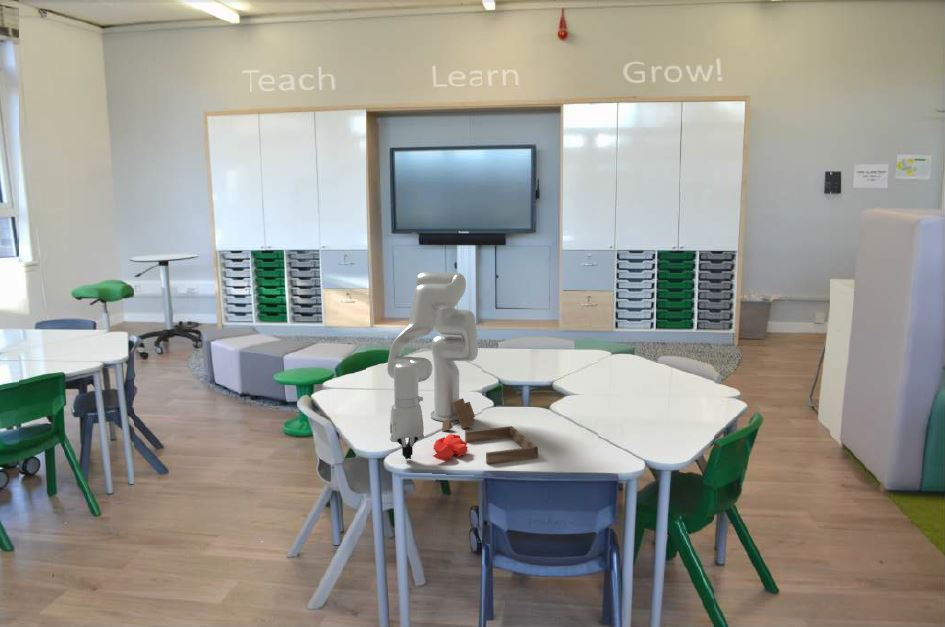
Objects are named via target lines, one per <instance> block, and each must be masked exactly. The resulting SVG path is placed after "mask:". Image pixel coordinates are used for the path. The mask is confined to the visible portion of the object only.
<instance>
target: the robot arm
mask: <svg viewBox="0 0 945 627" xmlns="http://www.w3.org/2000/svg"><path fill="white" fill-rule="evenodd" d="M415 280H416V287H415V289H414V291H413V298H412V302H411V309H410V313H409V317H408V318H409V319H408V324H407V326H406V327H405V328H404V329H403V330H402V331H401V332H400V333H398V335H397V336H396V337H395V339H394V340H393V342H392V343H391V346H390V349H389V352H388V357H387V358H388V359H387V367H386V368H387V369H386V371H387V374H388V376H389V377H390V378H391V379H393V392H394V393H393V395H394V397H393V399H394V404H393V405H391V409H390V418H389V433H390V439H389V440H390V442H392V443H398V444H399V445H400V446H401V452H402V454H401V455H402V457H404V458H405V460H411V459H412V456H413V447H414V446H415V444H416V442H418V441H419V440H422V439H424V438H425V435H424V430H425V429H424V428H425V427H424V419H423V411H422V405H421V404H420V402H424V397H423V396H419V383H421V382H425V381H427V380H428V379H429V378H431V375H432V373H433V377H434V378H433V388H434V389H433V390H434V395H433V396H434V398H433V399H434V401H433V402H434V403H433V404H434V408H433V409H434V410H432V411H431V412H430V418H431V419H433V420H435V421H441V422H443V421H444V420H447V419H450V421H451V422H453V421H459V419H458V417H457V414H456V411H455V408H454V405H453V402H454V401H456V400H459V399H460V370H459V368H458V365H457V364H456V363H455V361H456V362H472V361H474V360H476V358H477V357H478V355H479V354H478V353H479V342H478V331H477V321H476V320H477V319H476V316H475V313H474V312H473V311H471V310H470V309H458V308H455V307H456V306H457V305H458V303H459V302H460V300H461V299H462V297H463V296H464V294H465V292H466V289H467V288H466V287H467V281H466V278H465V276H464V275H463V274H462V273H460V272H459V273H458V272H441V271H438V272H437V271H423V272H421V273H419V274H417V276H416V279H415ZM433 331H434V332H435V334H436V333H437V334H438V335H436V336H434V337H433V339H432V341H431V344H430V345H431V355H432V361H433V364H432V362H431V361H430V360H429V359H428V358H426V357H421V356H420V357H419V356H418V357H417V356H404V355H403V356H401V354H402V352H403V350H404V349H405V347H406V346H407V345H409V344H410V343H412V342H413V341H416V340H419V339H420V338H423V337H425V336H428V335H430V334H432V333H433ZM406 439H408V440H406Z"/></svg>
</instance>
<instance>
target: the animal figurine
mask: <svg viewBox="0 0 945 627" xmlns="http://www.w3.org/2000/svg"><path fill="white" fill-rule="evenodd" d="M467 445H468V442H465V440H463V439H462V438H461V436H460V434H453V433H450V434H448V435H446V437H442V438H438V439H436V440H435V442H434V444H433V450H434V451H435V454H434V455H432V457H434V458H435V459H437V460H441V461H444V462H446V461H447V462H448V461H449V460H450V459H451V458H452V457H453V456H454V455H457V457H462V455H463V456H464V455H466V454H467V453H468V448H469V446H467Z"/></svg>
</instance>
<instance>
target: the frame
mask: <svg viewBox="0 0 945 627" xmlns="http://www.w3.org/2000/svg"><path fill="white" fill-rule="evenodd" d="M504 438H505V439H507V438H510V439H512V441H513V442H514V443H516V444H517V445H518V446H519V448H513V449H504V450H496V451H487V452H485V464H486V465H495V464H502V463H503V464H504V463H508V462H509V463H510V462H517V461H524V460H525V461H526V460H532V459H538V457H539V447H538V446H537V445H536V444H534V443H533V442H532V441H530V439H528V438H527V437H525V435H523V434H522V433H520V431H519V430H517V429H516V428H515V427H513V426H512V425H511V426H510V425H509V426H501V427H500V426H499V427H493V428H484V429H477V430H467V431H465V432H464V441H465V442H467V443H471V442H472V443H473V442H479V441H480V442H481V441H488V440H497V439H498V440H499V439H504Z"/></svg>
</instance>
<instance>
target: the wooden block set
mask: <svg viewBox="0 0 945 627" xmlns="http://www.w3.org/2000/svg"><path fill="white" fill-rule="evenodd" d="M453 405H454V408H455V411H456V414H457V417H458V421H459V425H460V428H461V429H463V430H464V429H467V428H470V427H472V426H474V425H473V422H474V421H475V420H474V419H475V417H476V415H475V412H474V409H473V407H472V405H471V402H470V401H467V402H465V399H464V398H462V397H461V398H459V400H456V401H454V402H453ZM453 427H454V426H453V424H452V421H450V419H447V420H444V421H442V428H441V432H442V433H443V432H446V431H449V430H452V429H453Z"/></svg>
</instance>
